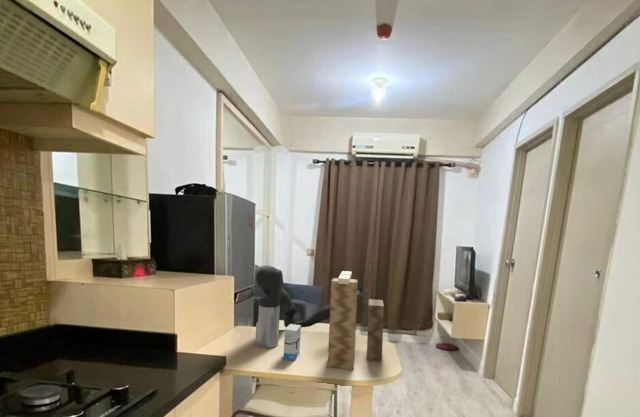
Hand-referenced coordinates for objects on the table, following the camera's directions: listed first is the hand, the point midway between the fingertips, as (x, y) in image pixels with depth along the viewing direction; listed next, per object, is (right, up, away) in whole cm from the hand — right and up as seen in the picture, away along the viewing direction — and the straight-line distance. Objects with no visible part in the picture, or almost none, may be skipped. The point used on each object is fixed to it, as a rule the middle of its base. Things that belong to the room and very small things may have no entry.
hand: (347, 284), depth 155 cm
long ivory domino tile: (-2, +6, -17) cm, 18 cm away
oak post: (-4, -26, -22) cm, 34 cm away
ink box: (-24, -25, -18) cm, 39 cm away
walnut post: (+10, -27, -13) cm, 31 cm away
